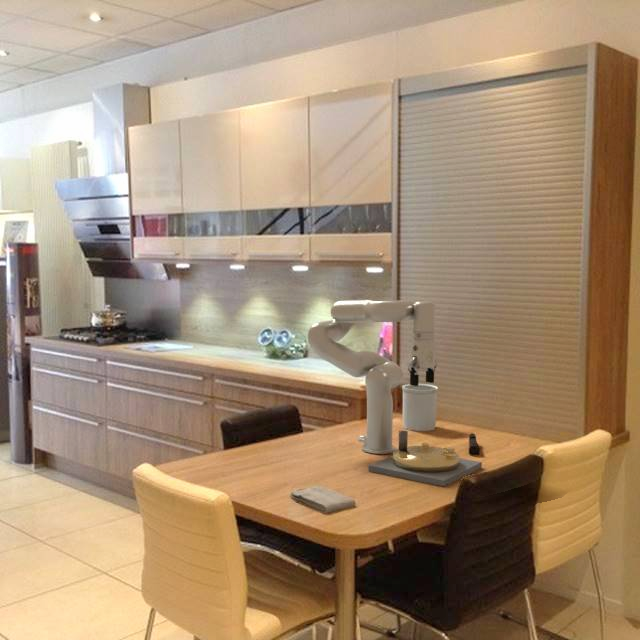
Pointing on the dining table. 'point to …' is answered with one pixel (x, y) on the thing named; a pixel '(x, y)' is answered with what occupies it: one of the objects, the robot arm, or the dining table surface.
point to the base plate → (434, 478)
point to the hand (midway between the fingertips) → (422, 383)
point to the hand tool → (473, 445)
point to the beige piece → (424, 456)
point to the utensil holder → (419, 407)
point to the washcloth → (322, 499)
